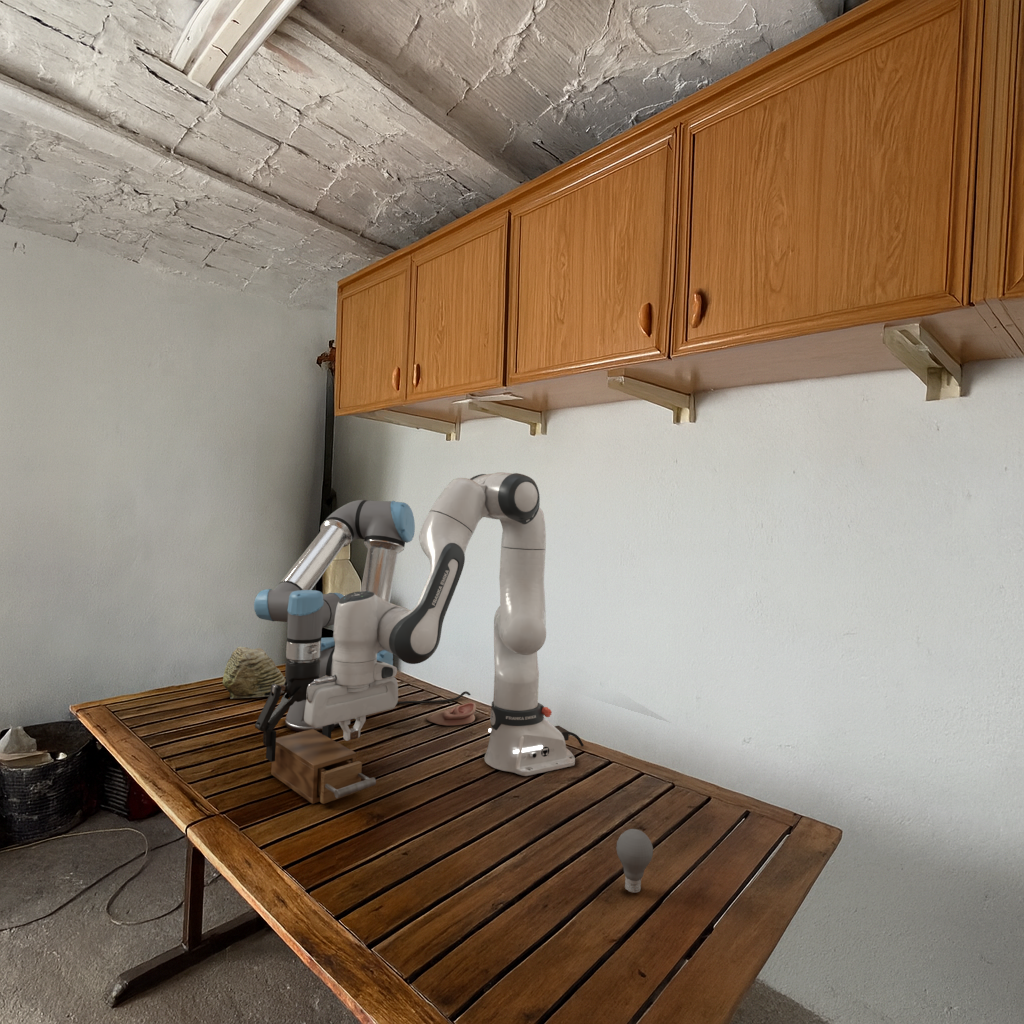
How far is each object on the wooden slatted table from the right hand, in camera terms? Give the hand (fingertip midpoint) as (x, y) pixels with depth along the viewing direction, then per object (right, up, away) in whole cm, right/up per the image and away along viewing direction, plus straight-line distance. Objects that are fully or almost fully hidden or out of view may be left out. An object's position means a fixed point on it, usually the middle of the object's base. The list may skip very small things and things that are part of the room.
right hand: (351, 738), depth 130 cm
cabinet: (-11, -13, +11) cm, 21 cm away
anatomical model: (+15, -14, +54) cm, 57 cm away
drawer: (-7, -13, +6) cm, 16 cm away
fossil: (-48, -11, +68) cm, 84 cm away
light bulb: (+53, -17, -24) cm, 61 cm away
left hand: (-16, -8, +14) cm, 23 cm away
